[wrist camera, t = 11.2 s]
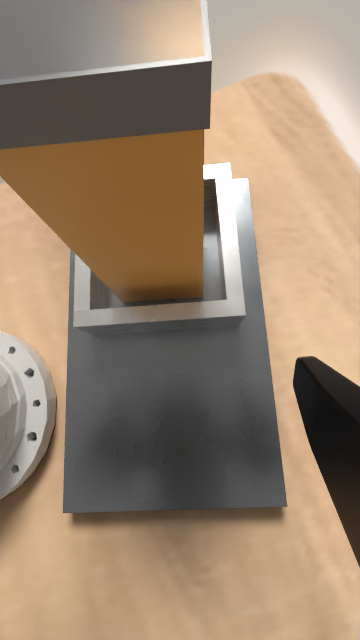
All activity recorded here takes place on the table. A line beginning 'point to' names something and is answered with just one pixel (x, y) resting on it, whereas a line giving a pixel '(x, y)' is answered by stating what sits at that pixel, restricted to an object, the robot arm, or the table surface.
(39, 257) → the table surface
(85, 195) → the capped orange pillar
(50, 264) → the table surface
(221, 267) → the grey socket base plate
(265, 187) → the table surface
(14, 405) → the mechanical component
